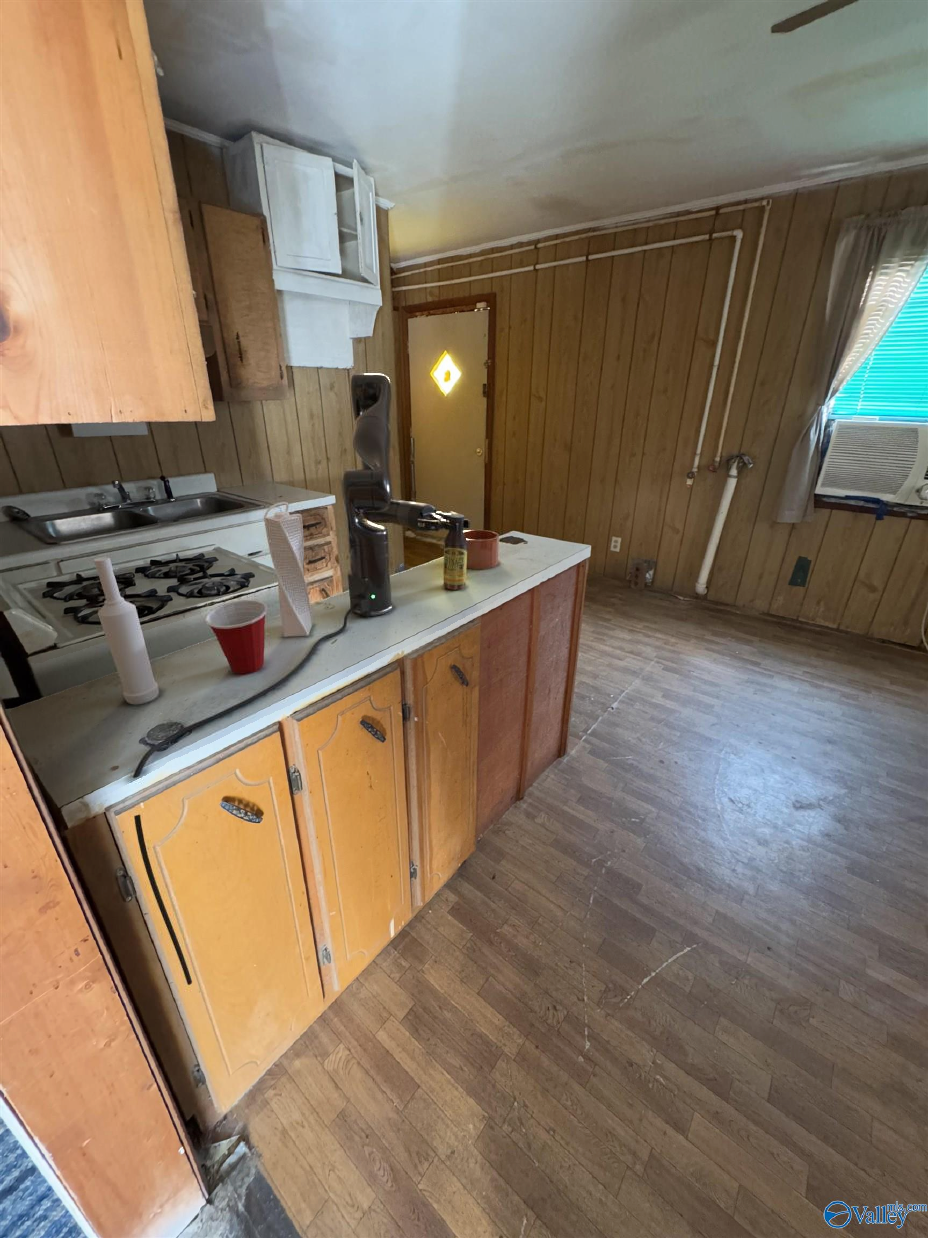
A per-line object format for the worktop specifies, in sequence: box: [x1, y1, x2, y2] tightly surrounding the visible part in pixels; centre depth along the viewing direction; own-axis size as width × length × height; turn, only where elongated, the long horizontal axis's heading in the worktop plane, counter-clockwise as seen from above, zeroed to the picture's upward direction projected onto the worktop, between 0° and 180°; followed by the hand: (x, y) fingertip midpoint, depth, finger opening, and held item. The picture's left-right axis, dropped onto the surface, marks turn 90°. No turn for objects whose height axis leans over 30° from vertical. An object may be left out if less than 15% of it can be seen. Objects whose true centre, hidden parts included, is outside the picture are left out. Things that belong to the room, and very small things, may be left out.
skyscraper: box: [263, 501, 314, 638], centre depth 106 cm, size 8×8×28 cm
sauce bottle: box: [442, 513, 467, 591], centre depth 134 cm, size 6×6×20 cm
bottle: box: [93, 556, 160, 706], centre depth 82 cm, size 5×5×25 cm
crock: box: [463, 529, 500, 570], centre depth 156 cm, size 13×13×9 cm
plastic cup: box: [203, 599, 268, 675], centre depth 94 cm, size 11×11×12 cm
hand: (463, 525), depth 129 cm, fingers closed on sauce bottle, 4 cm apart
